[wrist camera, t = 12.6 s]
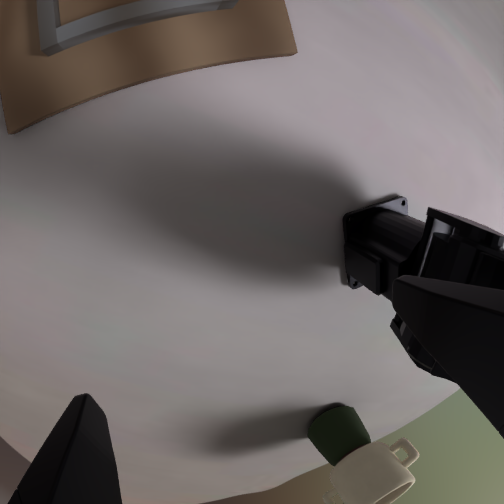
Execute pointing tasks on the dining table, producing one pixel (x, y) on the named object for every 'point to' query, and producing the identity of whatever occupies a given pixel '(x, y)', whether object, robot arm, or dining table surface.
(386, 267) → the robot arm
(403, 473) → the cream and green trophy
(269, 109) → the dining table surface
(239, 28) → the board
